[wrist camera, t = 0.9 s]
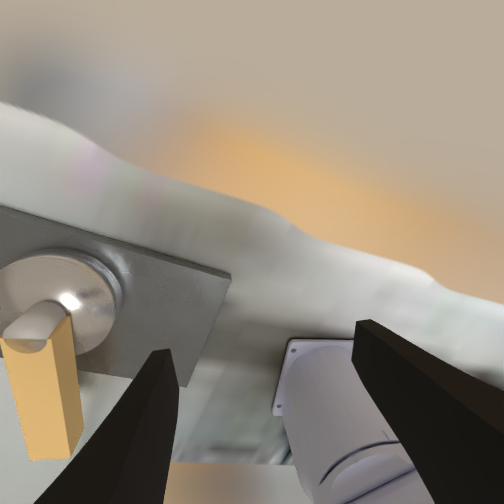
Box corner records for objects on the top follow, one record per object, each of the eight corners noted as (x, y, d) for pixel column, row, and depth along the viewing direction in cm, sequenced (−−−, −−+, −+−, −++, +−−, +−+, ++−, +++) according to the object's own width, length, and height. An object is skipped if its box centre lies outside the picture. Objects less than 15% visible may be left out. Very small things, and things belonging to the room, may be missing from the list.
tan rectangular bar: (21, 300, 15) (-6, 322, 13) (68, 302, 15) (48, 323, 13) (47, 429, 19) (29, 460, 17) (84, 428, 19) (70, 458, 17)
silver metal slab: (230, 274, 20) (233, 294, 17) (187, 377, 23) (184, 409, 20) (-104, 174, 14) (-179, 181, 12) (-98, 328, 18) (-155, 362, 15)
